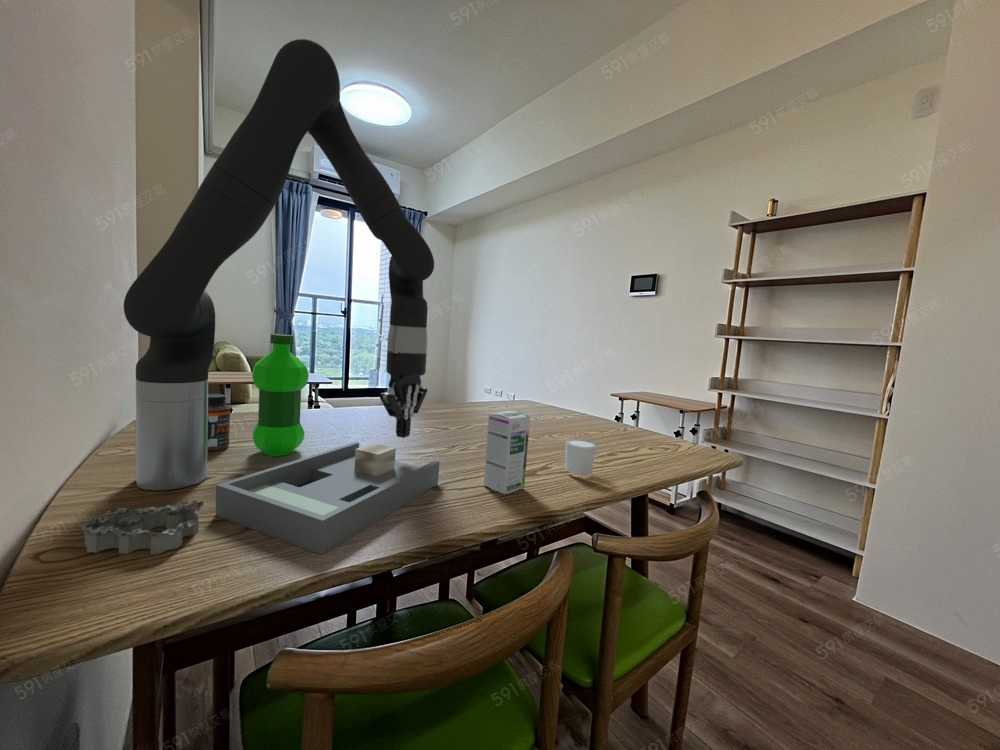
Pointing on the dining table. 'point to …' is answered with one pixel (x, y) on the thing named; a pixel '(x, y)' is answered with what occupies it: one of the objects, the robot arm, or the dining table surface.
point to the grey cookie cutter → (128, 525)
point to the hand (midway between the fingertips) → (402, 436)
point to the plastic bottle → (279, 398)
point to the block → (374, 459)
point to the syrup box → (506, 451)
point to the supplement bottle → (218, 422)
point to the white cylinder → (579, 456)
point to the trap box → (320, 497)
